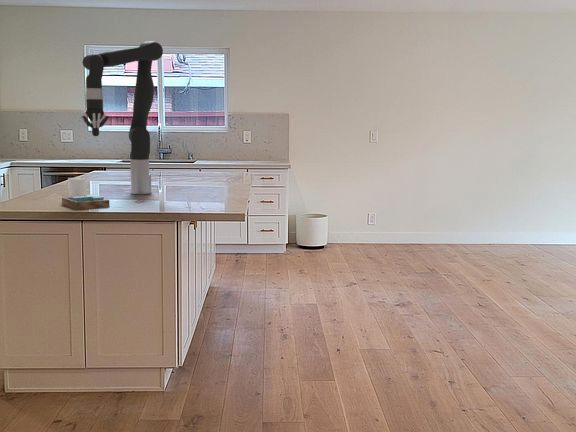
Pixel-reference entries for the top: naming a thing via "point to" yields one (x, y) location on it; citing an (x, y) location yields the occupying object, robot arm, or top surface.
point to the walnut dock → (85, 203)
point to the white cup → (77, 187)
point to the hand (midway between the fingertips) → (95, 136)
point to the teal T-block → (87, 198)
